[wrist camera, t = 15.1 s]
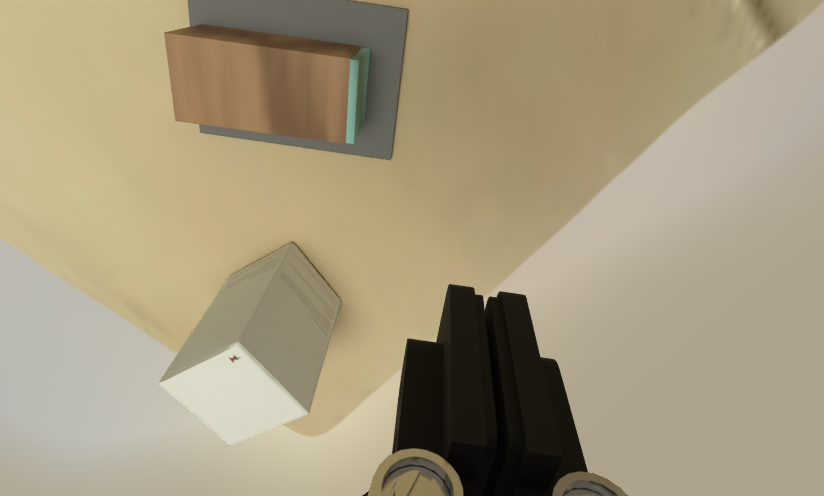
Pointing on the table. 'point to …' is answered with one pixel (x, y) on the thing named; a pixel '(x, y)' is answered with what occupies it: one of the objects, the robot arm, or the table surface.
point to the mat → (333, 22)
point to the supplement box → (257, 348)
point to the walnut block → (268, 82)
